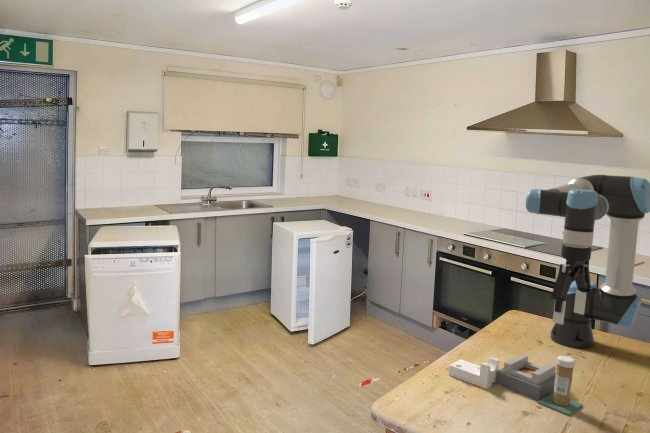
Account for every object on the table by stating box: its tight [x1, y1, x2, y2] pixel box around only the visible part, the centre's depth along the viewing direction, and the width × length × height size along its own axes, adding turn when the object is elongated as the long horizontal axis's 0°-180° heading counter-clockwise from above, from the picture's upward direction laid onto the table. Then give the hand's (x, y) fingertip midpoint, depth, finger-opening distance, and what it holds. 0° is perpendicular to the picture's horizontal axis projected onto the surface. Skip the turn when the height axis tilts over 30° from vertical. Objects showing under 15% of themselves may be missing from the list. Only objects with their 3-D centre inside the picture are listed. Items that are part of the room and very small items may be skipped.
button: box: [521, 370, 534, 375], centre depth 167 cm, size 5×5×3 cm
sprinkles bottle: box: [552, 355, 576, 406], centre depth 155 cm, size 5×5×13 cm
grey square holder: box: [494, 353, 557, 402], centre depth 167 cm, size 14×14×7 cm
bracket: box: [448, 357, 500, 390], centre depth 170 cm, size 13×7×8 cm, turn 47°
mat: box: [537, 392, 584, 417], centre depth 156 cm, size 9×9×1 cm
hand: (568, 318), depth 155 cm, fingers open, 13 cm apart
